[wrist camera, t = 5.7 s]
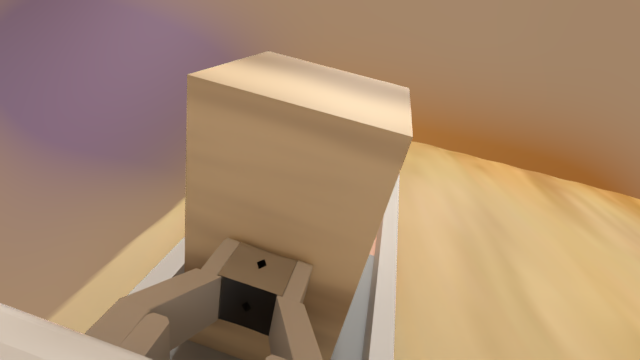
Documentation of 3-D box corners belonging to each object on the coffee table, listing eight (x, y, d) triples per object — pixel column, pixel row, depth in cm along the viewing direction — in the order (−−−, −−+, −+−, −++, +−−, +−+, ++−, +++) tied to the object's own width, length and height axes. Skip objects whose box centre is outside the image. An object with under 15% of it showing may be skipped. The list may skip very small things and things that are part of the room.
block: (320, 387, 13) (412, 136, 8) (183, 338, 14) (187, 74, 9) (343, 282, 19) (409, 88, 13) (243, 249, 19) (268, 51, 14)
